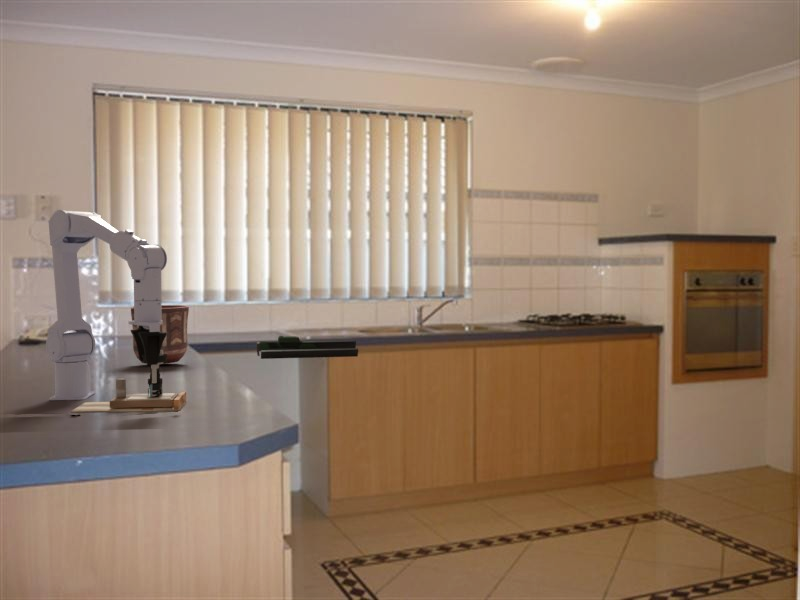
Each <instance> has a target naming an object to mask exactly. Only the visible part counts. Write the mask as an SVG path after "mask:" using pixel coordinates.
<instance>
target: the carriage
mask: <svg viewBox="0 0 800 600" xmlns="http://www.w3.org/2000/svg"><path fill="white" fill-rule="evenodd" d="M115 388H116V390H115V392H116V393H115V394H116V396H114V397H113V398H112V399H110V400H109V402H110V408H131V407H173V406H174V399H175V398H176V397H177V396H178V395H179V393H176V392H170V393H169V392H165V393H164V392H163V395H162V394H160V395H159V397H150V393H149V395H148V393H133V394H132V393H130V394H127V379H126V378H116V380H115Z"/></svg>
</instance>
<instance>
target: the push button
mask: <svg viewBox="0 0 800 600" xmlns="http://www.w3.org/2000/svg"><path fill="white" fill-rule="evenodd" d="M167 356H168V354H164V353H163V350H160V355H159V360H158V364H157V365H150V369H149V370H150V374H149V378H148V379H147V384H148V388H147V394H148V395H149V394H150V397H159V395H160V394H162V395H163V393H164V392H163V377H162V378H161V373H160V371H161V370H160V365H164V364H163V362H166V357H167ZM142 357H143V362H145V363H144V364H146V365H147V363H146V359H145V354H144V355H142Z"/></svg>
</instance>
